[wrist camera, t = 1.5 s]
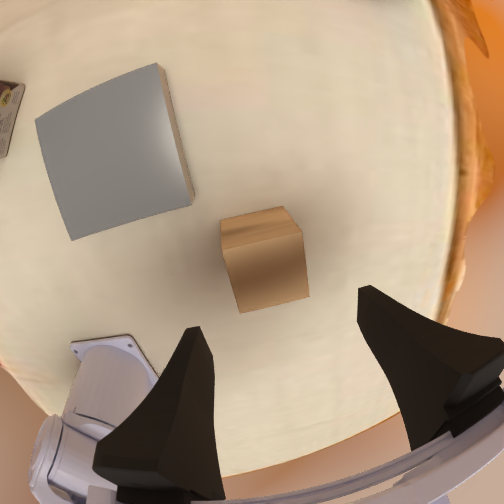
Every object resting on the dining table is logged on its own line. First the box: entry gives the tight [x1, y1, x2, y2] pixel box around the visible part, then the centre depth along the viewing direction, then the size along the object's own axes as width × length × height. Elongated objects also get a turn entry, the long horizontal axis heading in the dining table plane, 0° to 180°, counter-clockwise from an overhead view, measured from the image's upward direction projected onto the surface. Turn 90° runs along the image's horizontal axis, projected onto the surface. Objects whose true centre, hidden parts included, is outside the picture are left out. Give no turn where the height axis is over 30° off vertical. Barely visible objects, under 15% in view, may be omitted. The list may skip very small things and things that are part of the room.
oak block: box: [220, 206, 310, 313], centre depth 18 cm, size 4×4×5 cm
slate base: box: [35, 63, 195, 241], centre depth 15 cm, size 9×9×2 cm
